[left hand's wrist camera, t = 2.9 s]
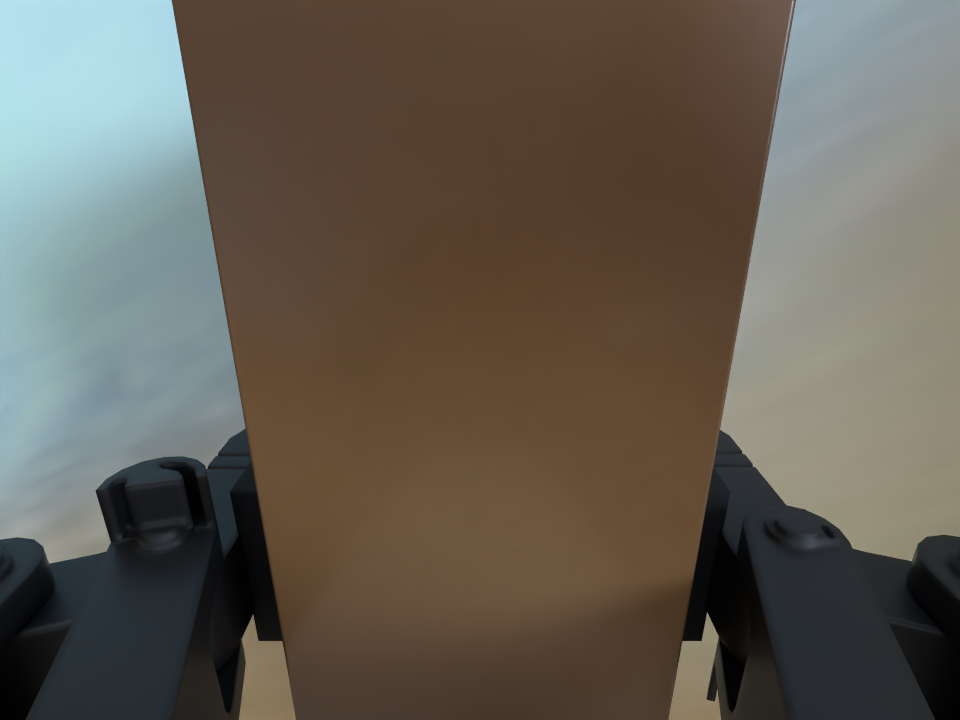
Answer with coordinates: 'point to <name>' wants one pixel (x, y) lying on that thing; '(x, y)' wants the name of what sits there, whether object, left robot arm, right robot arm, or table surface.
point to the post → (483, 329)
